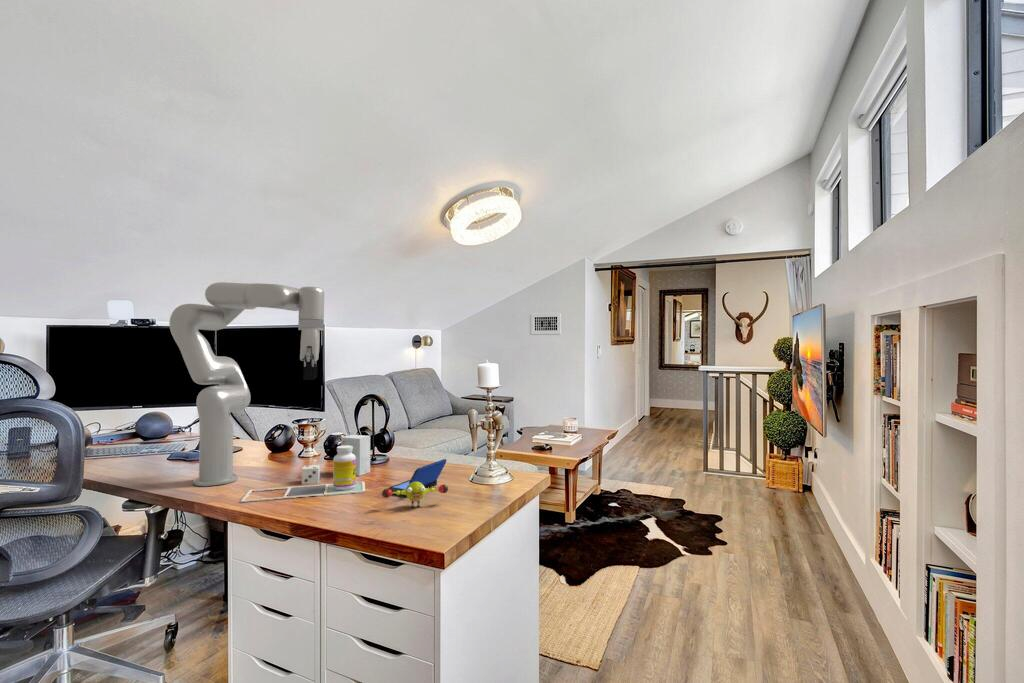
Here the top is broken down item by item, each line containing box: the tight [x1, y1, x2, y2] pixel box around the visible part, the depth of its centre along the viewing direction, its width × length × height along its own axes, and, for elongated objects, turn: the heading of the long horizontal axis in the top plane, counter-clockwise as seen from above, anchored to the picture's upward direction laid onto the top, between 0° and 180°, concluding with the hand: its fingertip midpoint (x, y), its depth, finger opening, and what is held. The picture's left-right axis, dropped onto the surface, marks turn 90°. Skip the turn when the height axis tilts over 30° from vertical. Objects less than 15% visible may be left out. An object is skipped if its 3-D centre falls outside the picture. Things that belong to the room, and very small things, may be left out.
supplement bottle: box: [332, 445, 357, 490], centre depth 153 cm, size 7×7×13 cm
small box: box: [340, 434, 371, 477], centre depth 173 cm, size 8×6×13 cm
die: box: [301, 464, 321, 485], centre depth 161 cm, size 5×5×5 cm
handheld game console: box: [386, 458, 447, 498], centre depth 152 cm, size 16×13×9 cm
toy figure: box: [381, 482, 449, 508], centre depth 135 cm, size 18×6×7 cm, turn 106°
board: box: [240, 481, 366, 503], centre depth 149 cm, size 12×34×1 cm, turn 107°
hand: (310, 379), depth 156 cm, fingers open, 9 cm apart
